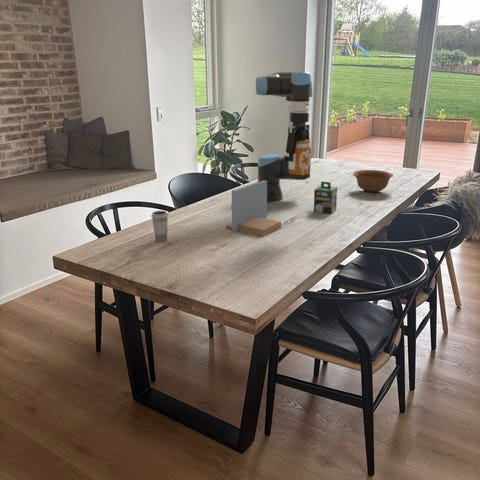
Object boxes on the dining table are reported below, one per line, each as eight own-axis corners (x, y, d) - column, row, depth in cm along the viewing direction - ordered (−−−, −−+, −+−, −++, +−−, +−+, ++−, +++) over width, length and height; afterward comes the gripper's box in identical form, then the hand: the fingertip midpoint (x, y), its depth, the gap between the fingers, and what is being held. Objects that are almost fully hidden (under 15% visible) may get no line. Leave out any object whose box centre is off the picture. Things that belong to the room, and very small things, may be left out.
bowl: (348, 195, 271) (349, 175, 267) (355, 186, 290) (356, 168, 286) (389, 198, 263) (391, 178, 259) (393, 189, 282) (395, 170, 278)
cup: (161, 244, 197) (160, 216, 193) (149, 241, 200) (147, 213, 196) (173, 239, 202) (171, 211, 198) (160, 236, 206) (159, 209, 202)
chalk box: (336, 209, 244) (338, 180, 239) (331, 214, 236) (333, 184, 231) (318, 207, 248) (320, 178, 243) (312, 212, 240) (314, 182, 235)
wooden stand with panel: (223, 228, 215) (222, 188, 209) (254, 216, 233) (254, 179, 227) (260, 237, 204) (261, 195, 198) (290, 223, 222) (291, 184, 216)
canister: (296, 181, 201) (298, 132, 194) (281, 176, 210) (283, 129, 203) (314, 179, 205) (316, 130, 198) (298, 174, 214) (300, 127, 207)
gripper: (294, 114, 188) (292, 172, 195) (320, 110, 204) (317, 164, 212) (277, 113, 192) (276, 170, 199) (304, 109, 208) (302, 162, 216)
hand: (297, 167), depth 206 cm, fingers closed on canister, 9 cm apart
